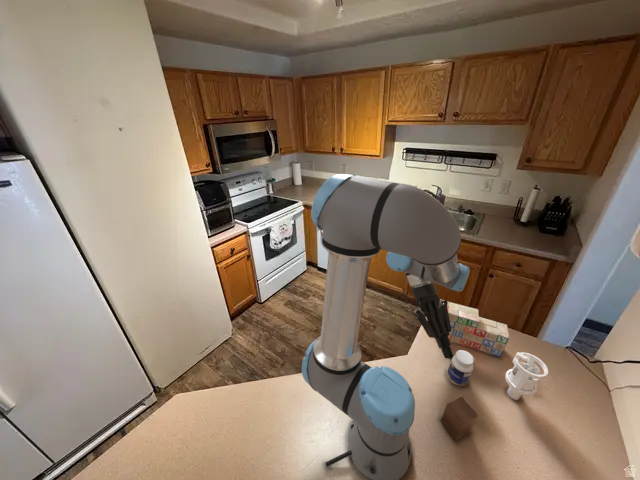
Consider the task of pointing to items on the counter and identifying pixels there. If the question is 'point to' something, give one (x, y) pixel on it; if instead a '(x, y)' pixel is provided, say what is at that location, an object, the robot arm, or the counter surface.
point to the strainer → (524, 375)
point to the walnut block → (459, 417)
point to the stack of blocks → (476, 330)
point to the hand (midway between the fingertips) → (449, 357)
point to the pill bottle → (460, 368)
